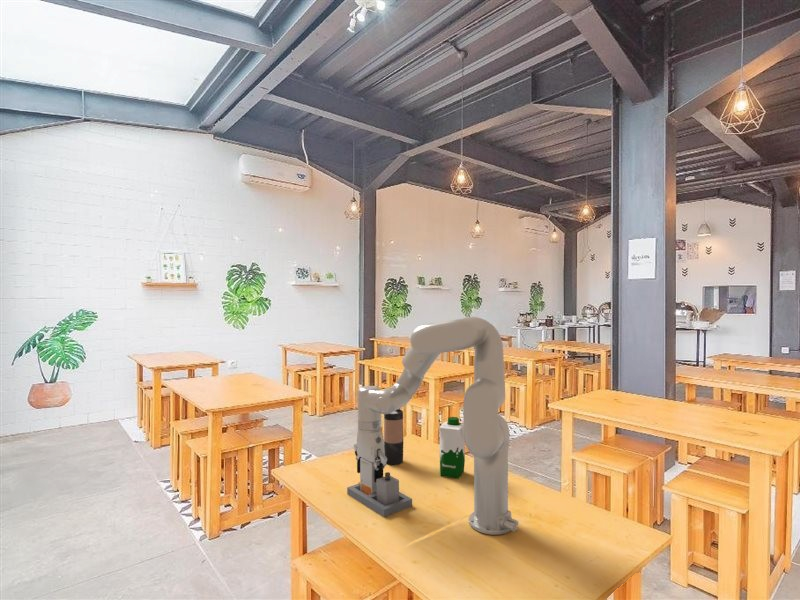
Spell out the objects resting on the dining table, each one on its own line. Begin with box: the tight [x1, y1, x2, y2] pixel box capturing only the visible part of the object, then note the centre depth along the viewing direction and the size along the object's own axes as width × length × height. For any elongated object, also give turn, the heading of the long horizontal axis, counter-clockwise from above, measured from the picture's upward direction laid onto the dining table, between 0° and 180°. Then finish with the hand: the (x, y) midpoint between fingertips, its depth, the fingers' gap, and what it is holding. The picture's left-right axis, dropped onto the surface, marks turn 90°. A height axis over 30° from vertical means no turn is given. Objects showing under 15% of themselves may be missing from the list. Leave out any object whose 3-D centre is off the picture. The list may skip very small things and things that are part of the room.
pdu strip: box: [346, 481, 413, 518], centre depth 144 cm, size 20×11×3 cm, turn 39°
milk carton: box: [438, 416, 466, 480], centre depth 165 cm, size 9×9×20 cm
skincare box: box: [359, 458, 379, 495], centre depth 147 cm, size 6×4×12 cm
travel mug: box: [383, 408, 404, 466], centre depth 177 cm, size 8×8×20 cm
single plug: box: [376, 472, 400, 506], centre depth 140 cm, size 5×5×10 cm
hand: (369, 476), depth 148 cm, fingers open, 9 cm apart
